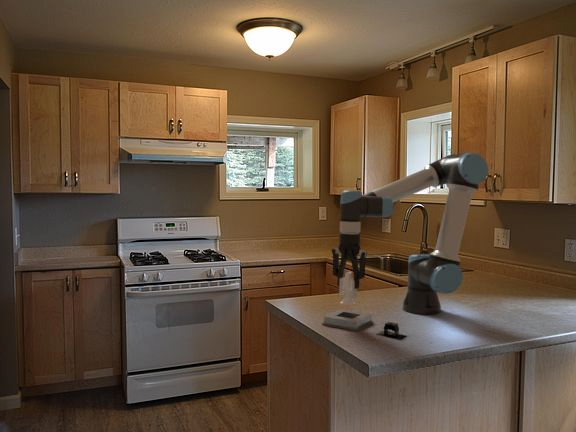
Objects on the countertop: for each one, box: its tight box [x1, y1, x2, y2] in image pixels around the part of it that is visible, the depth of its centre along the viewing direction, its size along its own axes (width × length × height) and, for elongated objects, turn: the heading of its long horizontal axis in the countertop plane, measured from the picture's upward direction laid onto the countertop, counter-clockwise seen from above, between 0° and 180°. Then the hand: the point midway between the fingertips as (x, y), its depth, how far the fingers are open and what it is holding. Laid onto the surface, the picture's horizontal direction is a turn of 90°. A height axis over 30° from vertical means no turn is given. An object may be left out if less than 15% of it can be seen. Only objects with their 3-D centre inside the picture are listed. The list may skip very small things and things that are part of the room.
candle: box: [340, 270, 356, 306], centre depth 182 cm, size 5×5×12 cm
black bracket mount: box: [375, 321, 408, 341], centre depth 170 cm, size 12×7×5 cm, turn 55°
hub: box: [321, 308, 374, 332], centre depth 183 cm, size 14×14×3 cm
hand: (347, 296), depth 182 cm, fingers closed on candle, 4 cm apart
